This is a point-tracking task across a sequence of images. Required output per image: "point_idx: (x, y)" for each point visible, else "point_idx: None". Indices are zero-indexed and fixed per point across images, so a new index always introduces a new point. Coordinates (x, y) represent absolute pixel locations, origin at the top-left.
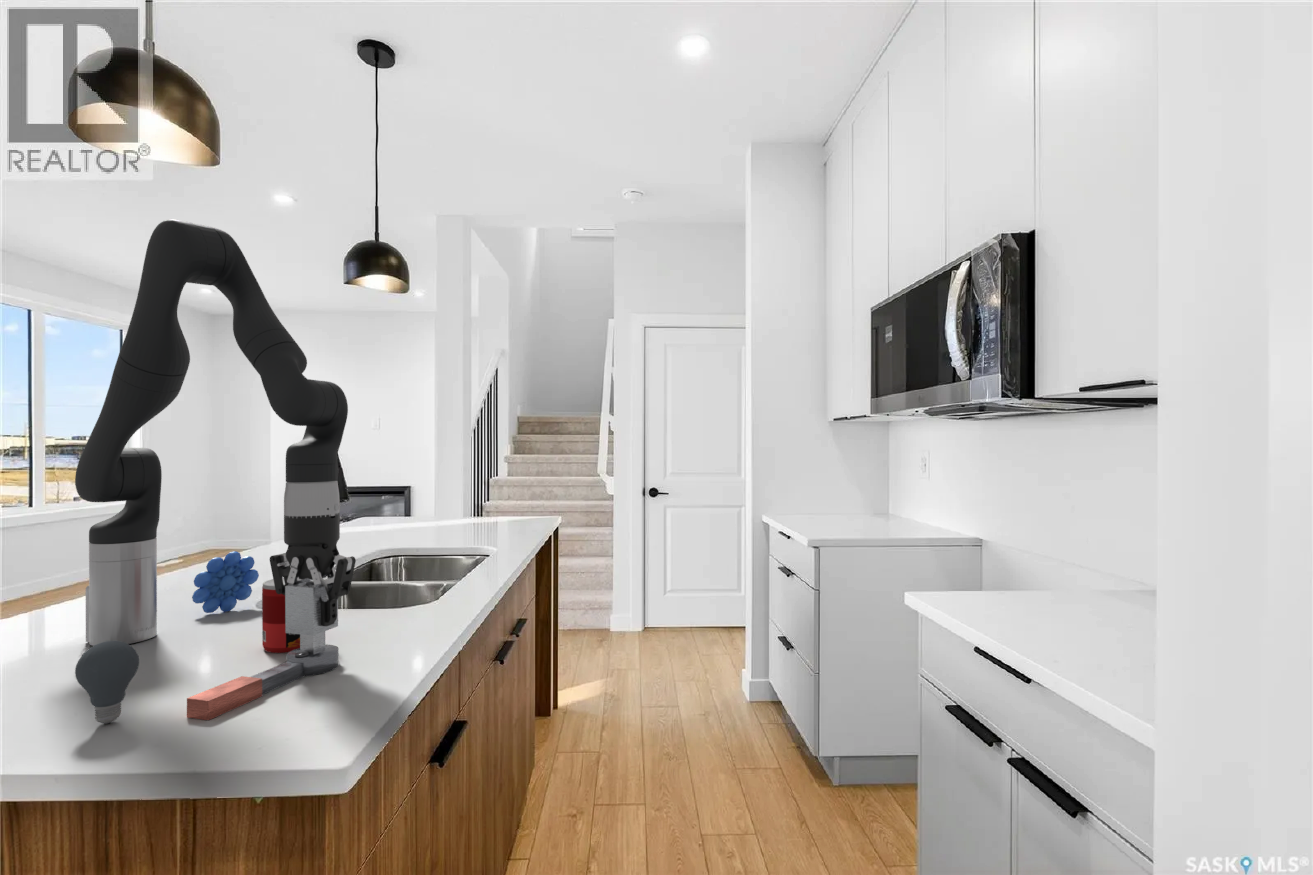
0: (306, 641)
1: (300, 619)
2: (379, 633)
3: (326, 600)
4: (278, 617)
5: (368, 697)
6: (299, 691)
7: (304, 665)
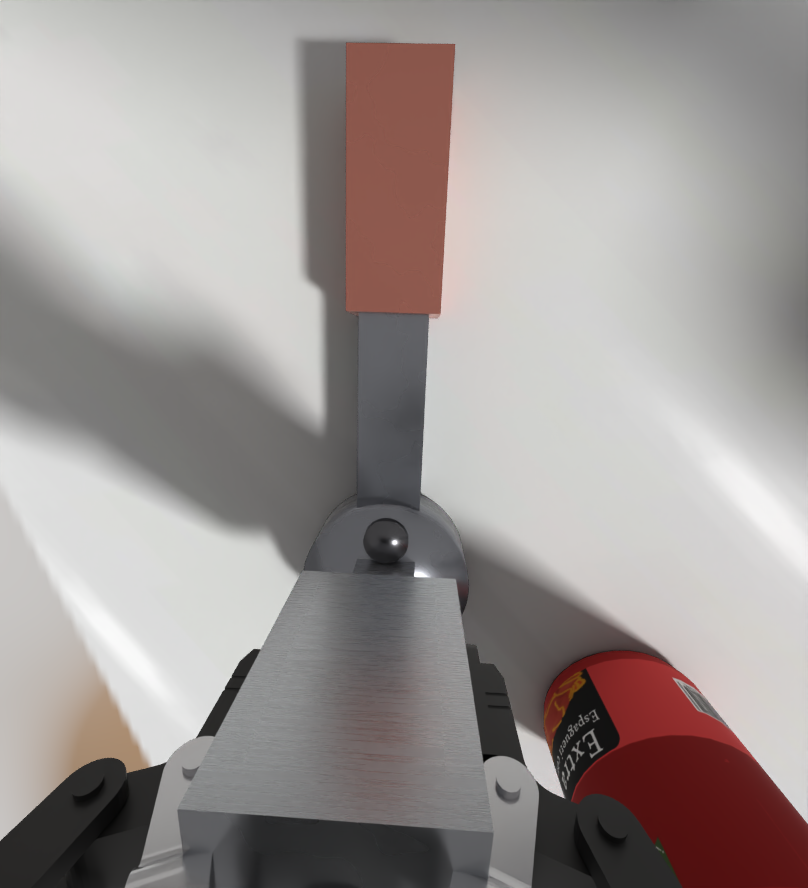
0: None
1: (362, 618)
2: None
3: (192, 745)
4: (670, 765)
5: (42, 382)
6: (276, 379)
7: (355, 504)
